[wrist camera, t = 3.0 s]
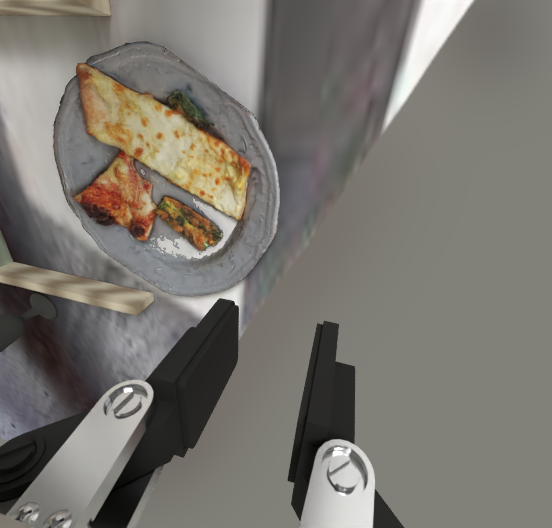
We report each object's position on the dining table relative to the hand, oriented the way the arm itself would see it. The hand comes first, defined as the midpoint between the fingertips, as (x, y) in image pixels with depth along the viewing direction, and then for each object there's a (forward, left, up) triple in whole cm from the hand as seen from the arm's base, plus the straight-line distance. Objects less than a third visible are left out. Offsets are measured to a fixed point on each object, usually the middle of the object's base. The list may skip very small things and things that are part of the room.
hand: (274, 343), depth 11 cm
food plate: (+17, 0, -20) cm, 26 cm away
